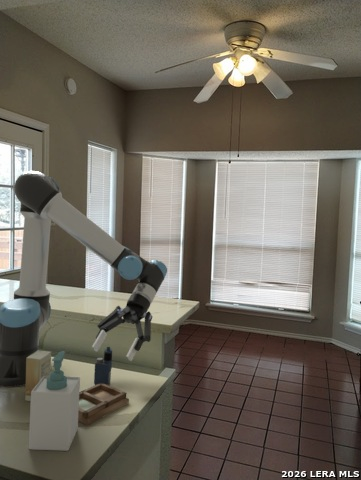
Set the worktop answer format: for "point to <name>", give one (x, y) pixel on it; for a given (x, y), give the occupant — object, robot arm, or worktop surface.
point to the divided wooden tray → (99, 402)
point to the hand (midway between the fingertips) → (111, 354)
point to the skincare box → (36, 370)
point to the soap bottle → (54, 410)
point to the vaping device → (103, 368)
